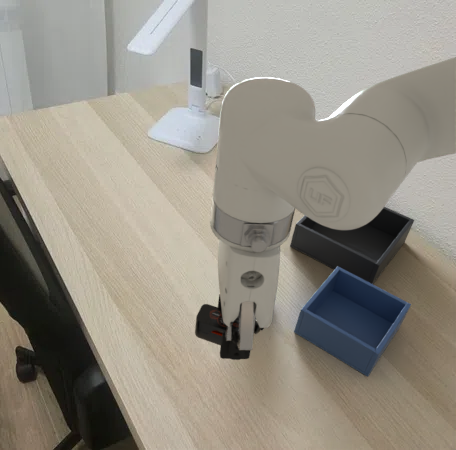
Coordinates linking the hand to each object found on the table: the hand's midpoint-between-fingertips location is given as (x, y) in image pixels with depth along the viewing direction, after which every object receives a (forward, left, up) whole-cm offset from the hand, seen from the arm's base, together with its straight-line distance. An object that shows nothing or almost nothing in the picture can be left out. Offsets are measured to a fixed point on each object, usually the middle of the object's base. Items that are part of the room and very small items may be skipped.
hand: (232, 336), depth 63 cm
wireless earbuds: (0, 0, -1) cm, 1 cm away
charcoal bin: (0, -38, -12) cm, 40 cm away
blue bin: (-8, -21, -12) cm, 25 cm away
